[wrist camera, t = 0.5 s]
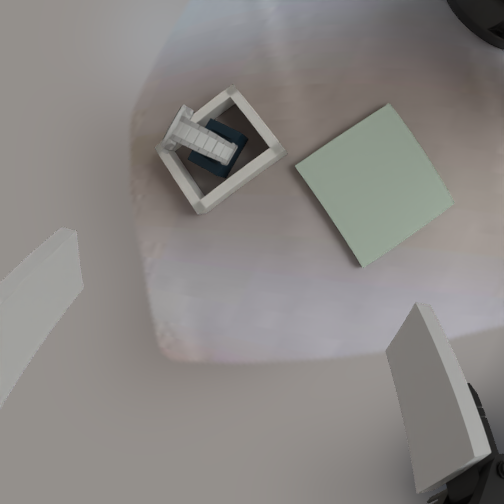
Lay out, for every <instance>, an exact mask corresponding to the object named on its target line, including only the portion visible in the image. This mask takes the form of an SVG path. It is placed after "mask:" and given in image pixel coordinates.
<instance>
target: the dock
mask: <svg viewBox="0 0 504 504" xmlns="http://www.w3.org/2000/svg"><path fill="white" fill-rule="evenodd" d="M235 103H236V104H237V106H238V107H239V108H240V110H241V111H242V112H243V113H244V115H245V116H246V117H247V118H248V120H249V121H250V122H251V123H252V125H253V126H254V127H255V129H256V130H257V131H258V133H259V134H260V135H261V136H262V138H263V139H264V140H265V142H266V143H267V144H268V146H269V147H270V148H269V149H267V150H266V151H265V152H263V153H262V154H261V155H259V156H258V157H256V158H255V159H254V160H252V161H251V162H250V163H248V164H247V165H245V166H244V167H243V168H241V169H240V170H239V171H237V172H236V173H235V174H233V175H232V176H231V177H229V178H228V179H227V180H225V181H224V182H223V183H222V184H220V185H219V186H218V187H216V188H215V189H214V190H212V191H211V192H210V193H209V194H207V195H206V196H204V194H203V193H202V191H201V190H200V188H199V187H198V185H197V184H196V182H195V181H194V179H193V178H192V176H191V175H190V173H189V172H188V170H187V169H186V167H185V166H184V164H183V163H182V161H181V160H180V158H179V157H178V155H177V154H176V153H175V151H176V150H177V149H178V148H180V147H181V146H182V144H180V143H177V145H176V147H175V148H174V149H173V150H169V153H168V154H166V153H163V152H162V151H161V150H162V149H163V148H164V147H163V148H162V147H161V143H162V141H161V142H160V143H159V144H158V145H157V146H156V147H155V150H156V151H157V153H158V154H159V156H160V157H161V159H162V161H163V162H164V164H165V165H166V167H167V168H168V170H169V171H170V173H171V175H172V176H173V178H174V179H175V181H176V182H177V184H178V185H179V187H180V188H181V190H182V191H183V193H184V194H185V196H186V197H187V199H188V200H189V202H190V204H191V205H192V207H193V208H194V210H195V211H196V213H197V214H198V215H200V214H206V213H208V212H209V211H210V210H211V209H213V208H214V207H215V206H217V205H218V204H219V203H221V202H222V201H223V200H225V199H226V198H227V197H229V196H230V195H231V194H233V193H234V192H235V191H237V190H238V189H239V188H241V187H242V186H243V185H245V184H246V183H247V182H249V181H250V180H252V179H253V178H254V177H256V176H257V175H258V174H260V173H261V172H263V171H264V170H265V169H267V168H268V167H270V166H271V165H272V164H274V163H275V162H277V161H278V160H279V159H281V158H282V157H284V156H285V155H286V154H288V153H287V152H286V150H285V149H284V148H283V146H282V145H281V144H280V142H279V141H278V140H277V138H276V137H275V136H274V135H273V133H272V132H271V131H270V129H269V128H268V127H267V126H266V124H265V123H264V122H263V120H262V119H261V118H260V117H259V115H258V114H257V113H256V112H255V110H254V109H253V108H252V107H251V105H250V104H249V103H248V102H247V100H246V99H245V98H244V97H243V96H242V94H241V93H240V92H239V91H238V90H237V88H236V87H235V86H234V85H233V84H232V85H231V86H229V87H228V88H227V89H225V90H224V91H223V92H221V93H220V94H219V95H217V96H216V97H215V98H213V99H212V100H211V101H209V102H208V103H207V104H206V105H204V106H203V107H202V108H201V109H199V110H198V111H197V112H196V113H194V114H193V116H192V118H191V121H193V122H195V123H196V124H198V125H200V126H202V127H205V126H206V125H207V123H208V121H209V120H210V118H211V119H215V118H217V117H218V116H219V115H221V114H222V113H223V112H225V111H226V110H227V109H229V108H230V107H231V106H233V105H234V104H235Z"/></svg>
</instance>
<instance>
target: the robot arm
mask: <svg viewBox="0 0 504 504" xmlns="http://www.w3.org/2000/svg"><path fill="white" fill-rule="evenodd" d="M447 1H448V3H449V5H450V7H451V8H452V10H453V11H454V12H455V14H456V15H457V16H458V17H459V19H460V20H461V21H462V22H463V23H464V24H465V25H466V26H467V27H468V28H469V29H470V30H472V31H473V32H474V33H475V34H476V35H478V36H479V37H480V38H482V39H483V40H485V41H487V42H488V43H490V44H492V45H494V46H496V47H499V48H502V49H504V0H447ZM83 288H84V286H83V279H82V272H81V265H80V257H79V249H78V239H77V230H73V229H68V228H64V227H61V228H60V229H59V230H57V231H56V232H55V233H54V234H52V235H51V236H50V237H49V238H48V239H47V240H45V241H44V242H43V243H42V244H41V245H40V246H39V247H37V248H36V249H35V250H34V251H33V252H32V253H31V254H29V255H28V256H27V257H26V258H25V259H24V260H23V261H22V262H21V263H20V264H19V265H17V266H16V267H15V268H14V269H13V270H12V271H11V272H10V273H9V274H8V275H7V276H6V277H5V278H4V279H3V280H2V281H1V282H0V409H1V407H2V405H3V404H4V402H5V400H6V399H7V397H8V395H9V394H10V392H11V390H12V389H13V387H14V385H15V384H16V382H17V381H18V379H19V378H20V376H21V374H22V373H23V371H24V370H25V368H26V366H27V365H28V364H29V362H30V361H31V359H32V358H33V356H34V355H35V353H36V352H37V350H38V349H39V347H40V346H41V345H42V343H43V342H44V340H45V339H46V337H47V336H48V334H49V333H50V332H51V330H52V329H53V328H54V326H55V325H56V324H57V322H58V321H59V319H60V318H61V317H62V315H63V314H64V313H65V311H66V310H67V309H68V308H69V306H70V305H71V304H72V302H73V301H74V300H75V298H76V297H77V296H78V295H79V293H80V292H81V291H82V289H83ZM386 355H387V358H388V362H389V365H390V369H391V373H392V376H393V380H394V384H395V388H396V392H397V395H398V400H399V404H400V408H401V412H402V417H403V421H404V426H405V430H406V435H407V440H408V445H409V450H410V455H411V461H412V466H413V472H414V478H415V485H416V491H417V493H422V492H427V491H432V490H435V489H437V488H439V487H440V486H442V485H443V484H445V483H446V485H447V489H445V490H443V491H441V492H440V493H438V494H436V495H434V496H432V497H431V498H430V499H429V500H428V501H427V503H430V502H432V501H434V500H436V499H438V498H439V499H438V501H436V502H435V503H434V504H504V454H499V453H498V450H497V447H496V444H495V441H494V438H493V435H492V432H491V429H490V426H489V423H488V420H487V418H485V412H484V410H483V408H482V404H481V402H480V399H479V397H478V394H477V393H476V391H475V390H474V389H473V387H472V386H471V385H470V383H467V382H466V380H465V377H464V375H463V373H462V370H461V368H460V365H459V363H458V361H457V359H456V356H455V354H454V352H453V350H452V348H451V346H450V343H449V341H448V339H447V337H446V335H445V333H444V331H443V329H442V327H441V325H440V323H439V321H438V319H437V317H436V315H435V313H434V311H433V309H432V307H431V305H427V304H421V303H415V304H414V306H413V308H412V310H411V311H410V313H409V315H408V316H407V318H406V320H405V321H404V323H403V325H402V326H401V328H400V329H399V331H398V333H397V334H396V336H395V337H394V339H393V340H392V342H391V343H390V345H389V346H388V348H387V349H386Z"/></svg>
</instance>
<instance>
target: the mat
mask: <svg viewBox="0 0 504 504" xmlns="http://www.w3.org/2000/svg"><path fill="white" fill-rule="evenodd" d="M295 167H296V169H297V170H298V171H299V173H300V174H301V176H302V177H303V178H304V180H305V181H306V183H307V184H308V185H309V187H310V188H311V190H312V191H313V193H314V194H315V195H316V197H317V198H318V200H319V201H320V203H321V204H322V206H323V207H324V209H325V210H326V212H327V213H328V214H329V216H330V217H331V219H332V220H333V222H334V224H335V225H336V227H337V228H338V230H339V231H340V233H341V234H342V236H343V237H344V239H345V240H346V242H347V244H348V245H349V247H350V248H351V250H352V251H353V253H354V255H355V256H356V258H357V259H358V261H359V263H360V264H361V266H362V267H363V268H364V267H366V266H367V265H369V264H370V263H372V262H373V261H375V260H376V259H378V258H379V257H380V256H382V255H383V254H385V253H386V252H388V251H389V250H391V249H392V248H394V247H395V246H397V245H398V244H399V243H401V242H402V241H404V240H405V239H407V238H408V237H409V236H411V235H412V234H414V233H415V232H416V231H418V230H419V229H421V228H422V227H423V226H425V225H426V224H427V223H429V222H430V221H432V220H433V219H434V218H436V217H437V216H438V215H440V214H441V213H442V212H444V211H445V210H446V209H448V208H449V207H450V206H452V205H453V204H454V201H453V199H452V197H451V195H450V193H449V192H448V190H447V188H446V186H445V185H444V183H443V181H442V180H441V178H440V176H439V175H438V173H437V171H436V170H435V168H434V166H433V165H432V163H431V162H430V160H429V158H428V157H427V155H426V154H425V152H424V151H423V149H422V148H421V146H420V145H419V143H418V142H417V140H416V139H415V137H414V136H413V134H412V133H411V132H410V130H409V129H408V127H407V126H406V125H405V123H404V122H403V120H402V119H401V118H400V116H399V115H398V114H397V112H396V111H395V110H394V109H393V107H392V106H391V105H390V103H389V104H387V105H386V106H384V107H382V108H381V109H379V110H378V111H376V112H375V113H373V114H371V115H370V116H368V117H367V118H365V119H364V120H362V121H361V122H359V123H358V124H356V125H355V126H353V127H352V128H350V129H348V130H347V131H345V132H344V133H342V134H341V135H339V136H338V137H336V138H335V139H333V140H332V141H330V142H329V143H328V144H326V145H325V146H323V147H322V148H320V149H319V150H317V151H316V152H314V153H313V154H311V155H310V156H308V157H307V158H306V159H304V160H303V161H301V162H300V163H298V164H297V165H295Z"/></svg>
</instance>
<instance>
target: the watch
mask: <svg viewBox="0 0 504 504" xmlns="http://www.w3.org/2000/svg"><path fill="white" fill-rule="evenodd" d="M192 116H193V110H192V109H191V108H189V107H186V105H184V104H183V105H182V107H181V108H180V109H179V111H178V112H177V114H176V116H175V117H174V119H173V121H172V123H171V125H170V126H169V128H168V130H167V132H166V134H165V136H164V138H163V140H162V143H161V147H162V148H163V147H164V148H163V149H162V150H161V151H162V152H163V153H166V154H168V153H169V150H173V149H174V148H175V147H176V145H177V143H180V144H182V145H184V146H186V147H188V148H190V149H193V150H192V152H191V154H190V156H189V157H188V160H190V161H192V162H193V163H195V164H197V165H199V166H201V167H202V168H204V169H206V170H208V171H210V172H211V173H213V174H215V175H217V176H219V177H223V178H226V177H227V176H228V174H229V172H230V170H231V169H232V167H233V165H234V163H235V161H236V160H237V158H238V156H239V154H240V153H241V151H242V149H243V147H244V146H245V144H246V142H247V140H248V138H247V137H246V136H244V135H243V134H242V133H240V132H238V131H236V130H234V129H232V128H230V127H228V126H226V125H224V124H222V123H220V122H218V121H216V120H214V119H211V118H210V120H209V121H208V123H207V125H206V127H205V128H204V127H202V126H200V125H198V124H196V123H195V122H193V121H191V118H192Z"/></svg>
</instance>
